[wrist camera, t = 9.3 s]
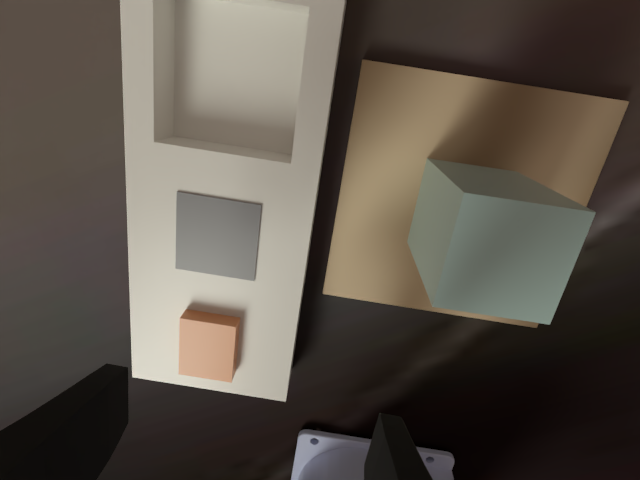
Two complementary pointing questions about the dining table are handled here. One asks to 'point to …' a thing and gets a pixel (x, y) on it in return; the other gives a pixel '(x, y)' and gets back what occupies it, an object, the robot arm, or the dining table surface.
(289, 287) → the white slotted tray
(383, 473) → the robot arm
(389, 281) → the cork mat
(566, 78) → the dining table surface
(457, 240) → the grey-green block
